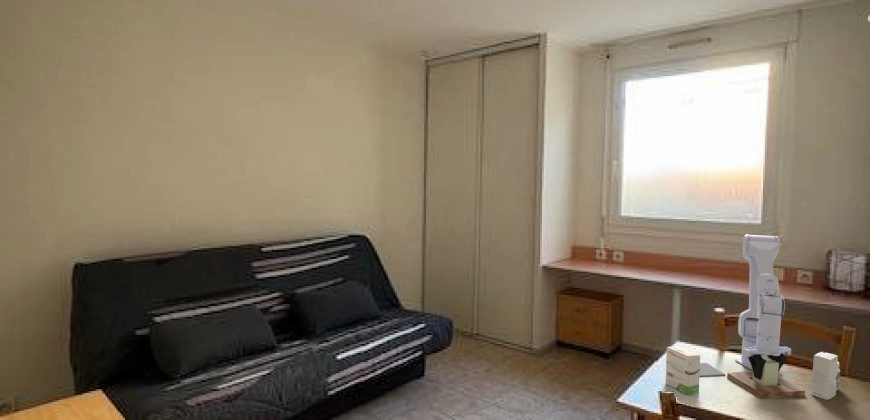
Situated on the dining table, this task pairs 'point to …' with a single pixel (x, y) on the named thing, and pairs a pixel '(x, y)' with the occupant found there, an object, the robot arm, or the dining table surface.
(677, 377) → the ink box
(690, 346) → the dining table surface
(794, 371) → the dining table surface
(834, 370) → the skincare box
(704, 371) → the rubber pad
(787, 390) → the pocket block
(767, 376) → the sage block
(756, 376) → the robot arm
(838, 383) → the pill bottle
